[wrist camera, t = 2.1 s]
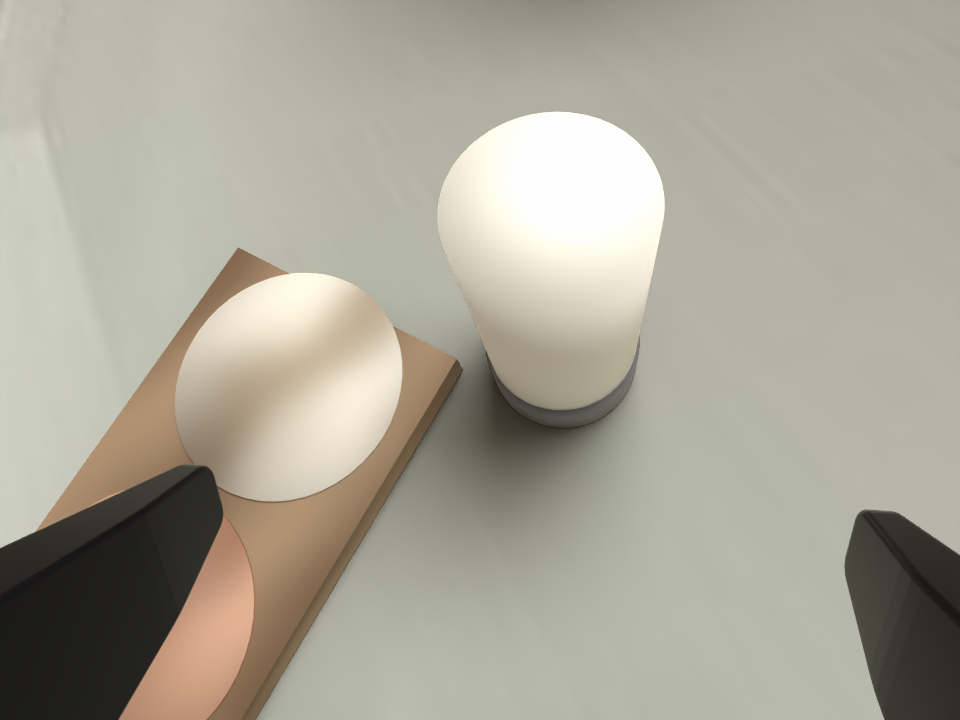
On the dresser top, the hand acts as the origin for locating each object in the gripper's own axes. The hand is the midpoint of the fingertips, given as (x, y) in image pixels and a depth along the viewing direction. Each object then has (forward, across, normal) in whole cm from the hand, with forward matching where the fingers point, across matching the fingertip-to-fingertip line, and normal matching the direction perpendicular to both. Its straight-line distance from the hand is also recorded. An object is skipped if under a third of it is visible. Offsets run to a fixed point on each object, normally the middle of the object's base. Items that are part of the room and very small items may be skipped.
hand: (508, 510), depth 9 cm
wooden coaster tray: (+10, +12, +8) cm, 17 cm away
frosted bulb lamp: (+14, 0, +4) cm, 14 cm away
